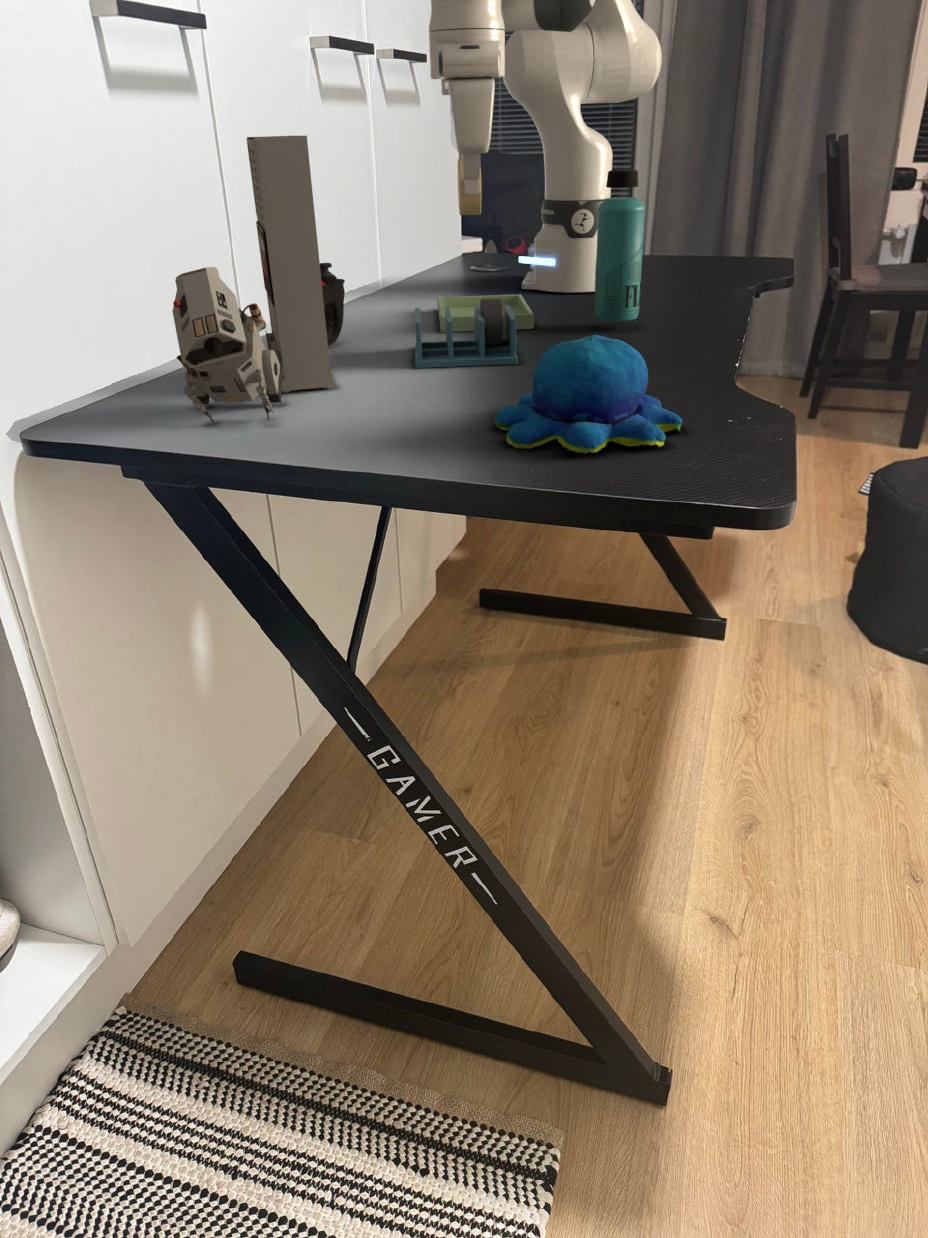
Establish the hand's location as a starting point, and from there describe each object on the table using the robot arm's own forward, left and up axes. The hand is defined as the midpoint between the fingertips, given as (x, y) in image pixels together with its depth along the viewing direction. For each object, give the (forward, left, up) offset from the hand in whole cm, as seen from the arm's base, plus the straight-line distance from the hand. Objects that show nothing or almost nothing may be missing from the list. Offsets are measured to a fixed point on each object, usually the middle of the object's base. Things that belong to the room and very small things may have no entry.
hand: (469, 191), depth 111 cm
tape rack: (+9, -2, -18) cm, 20 cm away
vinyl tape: (+9, +2, -14) cm, 17 cm away
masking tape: (0, 0, 0) cm, 0 cm away
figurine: (+28, -26, -18) cm, 43 cm away
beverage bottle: (-5, +20, -18) cm, 28 cm away
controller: (0, -21, -18) cm, 28 cm away
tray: (-15, +2, -18) cm, 24 cm away
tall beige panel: (+17, -21, -18) cm, 33 cm away
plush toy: (+41, +8, -18) cm, 46 cm away
